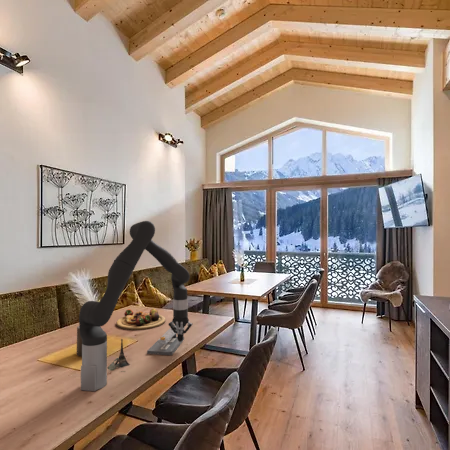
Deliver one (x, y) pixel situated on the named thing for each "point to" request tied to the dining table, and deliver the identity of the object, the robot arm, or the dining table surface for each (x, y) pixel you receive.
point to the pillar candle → (79, 343)
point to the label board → (165, 347)
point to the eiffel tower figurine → (119, 360)
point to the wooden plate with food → (140, 320)
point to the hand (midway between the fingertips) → (180, 341)
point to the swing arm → (167, 336)
